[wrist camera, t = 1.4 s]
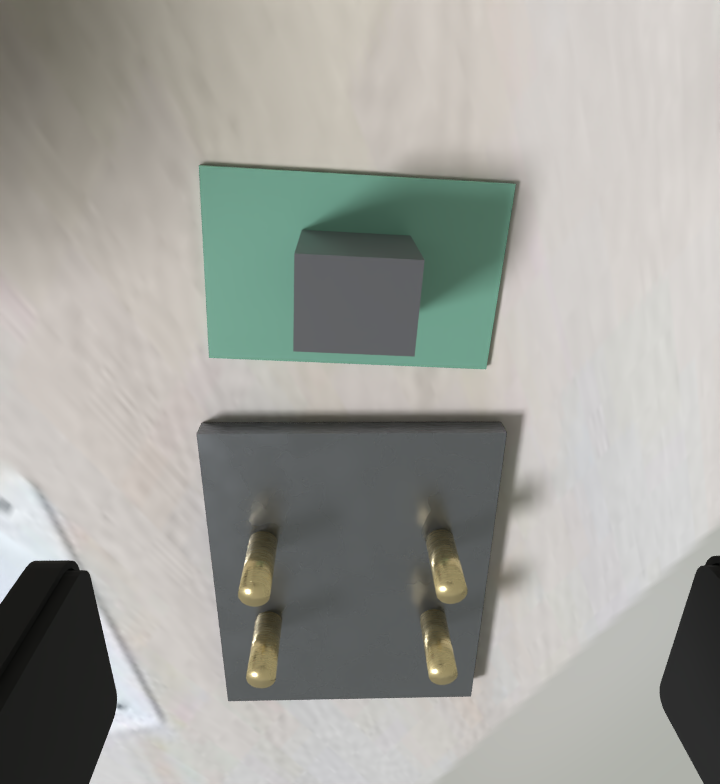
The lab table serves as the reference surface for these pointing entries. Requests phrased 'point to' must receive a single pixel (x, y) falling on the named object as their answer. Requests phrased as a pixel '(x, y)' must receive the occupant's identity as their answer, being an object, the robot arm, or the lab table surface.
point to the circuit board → (350, 203)
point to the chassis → (350, 554)
